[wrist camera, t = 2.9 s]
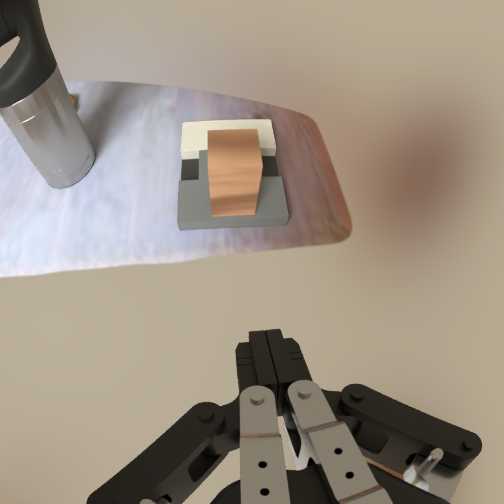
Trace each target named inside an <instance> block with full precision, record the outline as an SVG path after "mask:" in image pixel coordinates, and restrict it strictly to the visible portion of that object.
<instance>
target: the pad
mask: <svg viewBox="0 0 504 504" xmlns="http://www.w3.org/2000/svg"><path fill="white" fill-rule="evenodd" d="M228 129H257V131H258V137H259V144H260V150H261V156H275V152H276V144H275V139H274V134H273V129H272V124H271V120H215V121H197V122H183V128H182V141H181V156H182V160H183V159H198V158H199V150H208V130H228Z"/></svg>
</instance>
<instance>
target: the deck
mask: <svg viewBox="0 0 504 504" xmlns="http://www.w3.org/2000/svg"><path fill="white" fill-rule="evenodd" d="M261 157H262V164H263V168H262V174H261V180H260V186H259V192H258V198H257V204H256V210H255V215H237V216H218V217H212V214H211V203H210V191H209V179H208V150H199V158H198V159H183V160H182V171H181V181H179V192H178V222H177V223H178V226H179V229H180V231H181V230H197V229H214V228H233V227H253V226H275V225H286V224H287V221H288V218H289V215H288V209H287V203H286V198H285V192H284V186H283V181H282V177H278V172H277V166H276V160H275V156H261Z"/></svg>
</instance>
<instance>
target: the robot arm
mask: <svg viewBox="0 0 504 504" xmlns="http://www.w3.org/2000/svg"><path fill="white" fill-rule="evenodd" d="M16 36H19V37H20V41H19V43H18V46H17V47H16V49H15V51H14V52H13V54H12V55H11V57H10V58H9V59H8V60H7V62H6V63H5V64H4V65H3V66H2V68H1V69H0V114H1V116H2V117H3V119H4V121H5V122H6V124H7V125H8V127H9V128H10V130H11V132H12V133H13V135H14V136H15V138H16V139H17V141H18V142H19V144H20V145H21V147H22V148H23V150H24V151H25V153H26V154H27V155H28V157H29V158H30V160H31V161H32V163H33V164H34V165H35V167H36V168H37V170H38V171H39V172H40V174H41V175H42V176H43V178H44V179H45V180H46V182H47V183H48V184H49V185H50V186H51V187H53V188H56V189H61V188H66V187H69V186H71V185H73V184H75V183H76V182H78V181H79V180H80V179H82V178H83V177H84V176H85V175H86V174H87V173H88V171H89V170H90V168H91V167H92V165H93V162H94V159H95V151H94V149H93V147H92V144H91V142H90V140H89V138H88V136H87V134H86V131H85V129H84V127H83V125H82V123H81V120H80V118H79V116H78V114H77V111H76V109H75V107H74V104H73V102H72V100H71V97H70V95H69V92H68V90H67V88H66V85H65V83H64V80H63V78H62V75H61V73H60V70H59V68H58V65H57V62H56V60H55V57H54V55H53V52H52V50H51V47H50V44H49V42H48V39H47V36H46V33H45V30H44V26H43V22H42V18H41V14H40V8H39V4H38V0H0V47H1V46H2V45H4V44H5V43H7V42H9V41H10V40H11V39H13V38H14V37H16ZM235 351H236V366H237V377H238V386H239V395H238V397H237V398H236V399H235V400H234V401H233V402H231V403H229V404H226V405H223V406H219V405H217V404H215V403H212V402H202V403H198V404H196V405H194V406H193V407H192V408H191V409H190V410H189V411H188V412H187V413H186V414H184V415H183V416H182V418H180V419H179V420H178V421H177V422H176V423H175V424H174V425H172V426H171V427H170V428H169V429H168V430H167V431H166V432H165V433H164V434H162V435H161V436H160V437H159V438H158V439H157V440H156V441H155V442H153V443H152V444H151V445H150V446H149V447H148V448H147V449H145V450H144V451H143V452H142V453H141V454H140V455H138V456H137V458H135V459H134V460H133V461H131V462H130V463H129V464H128V465H127V466H125V467H124V468H123V469H122V470H121V471H119V472H118V473H117V474H116V475H114V476H113V477H112V478H111V479H109V480H108V481H107V482H106V483H104V484H103V485H102V486H101V487H99V488H98V489H97V490H96V491H94V492H93V493H92V494H91V495H90V496H89V497H88V499H87V504H182V503H183V502H184V501H185V500H186V499H187V498H188V497H189V496H190V495H191V494H192V493H193V492H194V491H195V490H196V489H197V488H198V487H199V486H200V484H201V483H202V482H203V481H204V480H205V479H206V478H207V477H208V476H209V475H210V474H211V473H212V472H213V470H214V469H215V468H216V467H217V466H218V465H219V464H220V463H221V462H222V460H223V459H224V458H225V457H226V456H227V455H228V453H229V452H230V451H233V450H235V449H238V448H240V476H241V477H240V480H238V481H235V482H233V483H231V484H230V485H228V486H227V487H225V488H224V489H223V490H222V491H220V492H219V494H218V495H217V496H216V497H215V498H214V499H213V501H212V502H211V503H210V504H450V503H449V502H450V500H451V498H452V496H453V494H454V492H455V489H456V487H457V485H458V483H459V481H460V478H461V476H462V473H463V471H464V469H465V468H466V467H467V466H468V465H469V464H470V463H471V462H472V461H473V460H474V459H475V458H476V457H477V456H478V455H479V453H480V452H481V449H482V442H481V439H480V438H479V436H477V434H475V433H473V432H470V431H468V430H465V429H463V428H460V427H458V426H455V425H452V424H450V423H447V422H445V421H443V420H440V419H438V418H435V417H433V416H431V415H428V414H426V413H423V412H421V411H419V410H417V409H414V408H412V407H409V406H408V405H405V404H403V403H401V402H399V401H397V400H394V399H392V398H390V397H388V396H386V395H383V394H381V393H379V392H377V391H375V390H373V389H371V388H368V387H367V386H364V385H362V384H350V385H348V386H346V387H345V388H344V389H343V390H342V392H338V391H327V390H324V389H321V388H320V387H319V386H318V385H317V384H316V383H314V382H313V381H312V378H311V375H310V373H309V370H308V367H307V365H306V362H305V360H304V357H303V354H302V353H301V349H300V347H299V344H298V343H297V342H296V341H295V340H294V339H293V338H286V339H284V338H283V336H282V332H281V330H280V329H272V330H265V332H264V330H262V331H250V332H249V342H243V343H239V344H238V346H237V348H236V350H235ZM278 416H283V418H284V421H285V423H284V431H285V434H286V437H287V440H288V442H289V445H290V448H291V451H292V454H293V457H294V460H295V463H296V470H286V467H285V459H284V452H283V444H282V437H281V435H280V434H279V428H278V420H277V417H278ZM363 456H365V457H367V458H369V459H371V460H373V461H375V462H377V463H379V464H381V465H383V466H385V467H387V468H390V469H392V470H394V471H396V472H398V473H400V474H402V475H404V480H405V481H404V480H402V479H400V478H398V477H396V476H394V475H392V474H390V473H388V472H386V471H384V470H383V469H380V468H379V467H377V466H375V465H373V464H370V463H367V462H366V461H365V459H364V457H363Z"/></svg>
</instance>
